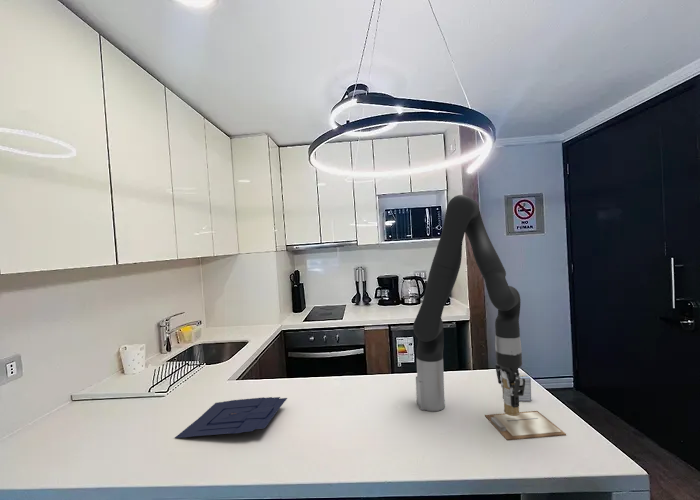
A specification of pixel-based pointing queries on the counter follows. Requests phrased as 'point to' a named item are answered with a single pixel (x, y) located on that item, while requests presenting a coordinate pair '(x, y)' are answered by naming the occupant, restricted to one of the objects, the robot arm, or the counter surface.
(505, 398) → the sprinkles bottle
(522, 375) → the medicine box
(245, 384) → the counter surface
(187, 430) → the navy blue folded cloth
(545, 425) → the clipboard
